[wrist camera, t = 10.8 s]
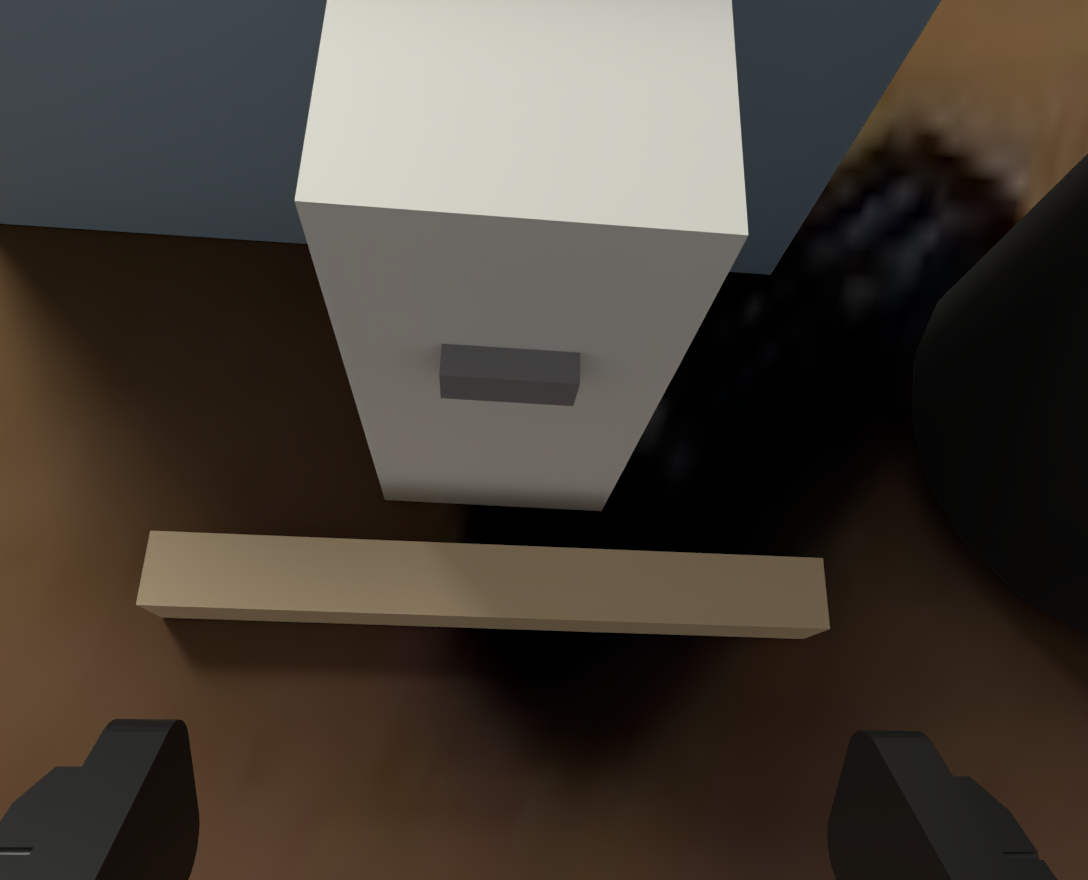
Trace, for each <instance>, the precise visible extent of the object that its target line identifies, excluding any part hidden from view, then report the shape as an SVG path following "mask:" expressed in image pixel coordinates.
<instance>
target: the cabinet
mask: <svg viewBox="0 0 1088 880" xmlns="http://www.w3.org/2000/svg"><path fill="white" fill-rule="evenodd" d="M295 204H296V208H297V211H298V214H299V218H300V221H301V224H302V227H303V231H304V234H305V237H306V241H307V244H308V247H309V251H310V254H311V257H312V261H313V264H314V267H315V271H316V274H317V277H318V280H319V284H320V287H321V290H322V294H323V297H324V300H325V304H326V307H327V310H328V314H329V317H330V320H331V323H332V327H333V330H334V333H335V337H336V340H337V343H338V347H339V350H340V353H341V357H342V360H343V363H344V367H345V370H346V373H347V376H348V380H349V383H350V386H351V390H352V393H353V396H354V400H355V403H356V406H357V410H358V413H359V416H360V419H361V423H362V426H363V429H364V433H365V436H366V439H367V443H368V446H369V449H370V453H371V456H372V459H373V462H374V466H375V469H376V472H377V476H378V479H379V482H380V486H381V489H382V492H383V496H384V499H385V500H395V501H414V502H434V503H453V504H473V505H492V506H512V507H531V508H550V509H570V510H589V511H602V509H603V507H604V505H605V504H606V502H607V500H608V498H609V496H610V494H611V492H612V490H613V489H614V487H615V485H616V483H617V481H618V479H619V477H620V475H621V473H622V472H623V470H624V468H625V466H626V464H627V462H628V460H629V458H630V457H631V455H632V453H633V451H634V449H635V447H636V445H637V443H638V442H639V440H640V438H641V436H642V434H643V432H644V430H645V428H646V427H647V425H648V423H649V421H650V419H651V417H652V415H653V413H654V412H655V410H656V408H657V406H658V404H659V402H660V400H661V398H662V397H663V395H664V393H665V391H666V389H667V387H668V385H669V383H670V382H671V380H672V378H673V376H674V374H675V372H676V370H677V368H678V367H679V365H680V363H681V361H682V359H683V357H684V355H685V353H686V352H687V350H688V348H689V346H690V344H691V342H692V340H693V338H694V337H695V335H696V333H697V331H698V329H699V327H700V325H701V323H702V321H703V320H704V318H705V316H706V314H707V312H708V310H709V308H710V306H711V305H712V303H713V301H714V299H715V297H716V295H717V293H718V291H719V290H720V288H721V286H722V284H723V282H724V280H725V278H726V276H727V275H728V273H729V271H730V269H731V267H732V265H733V263H734V261H735V260H736V258H737V256H738V254H739V252H740V250H741V248H742V246H743V245H744V243H745V241H746V239H747V237H748V222H747V208H746V194H745V180H744V166H743V152H742V138H741V124H740V110H739V96H738V82H737V68H736V54H735V40H734V26H733V12H732V0H327V4H326V10H325V16H324V22H323V28H322V34H321V41H320V47H319V53H318V59H317V65H316V71H315V77H314V84H313V90H312V96H311V102H310V108H309V114H308V121H307V127H306V133H305V139H304V145H303V151H302V158H301V164H300V170H299V176H298V182H297V188H296V195H295Z"/></svg>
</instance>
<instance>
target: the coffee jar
mask: <svg viewBox="0 0 1088 880" xmlns="http://www.w3.org/2000/svg"><path fill="white" fill-rule="evenodd" d="M911 422H912V426H913V429H914V435H915V439H916V442H917V446H918V449H919V453H920V456H921V460H922V463H923V467H924V470H925V473H926V477H927V480H928V484H929V487H930V491H931V492H932V494H933V496H934V497H935V499H936V500H937V502H938V504H939V505H940V507H941V508H942V510H943V512H944V513H945V515H946V516H947V518H948V520H949V521H950V523H951V524H952V526H953V528H954V529H955V531H956V532H957V534H958V536H959V537H960V539H961V540H962V542H963V544H964V545H965V546H966V547H967V548H968V549H969V550H970V551H971V552H972V553H973V554H974V555H975V556H977V557H978V558H979V559H980V560H981V561H982V562H983V563H984V564H985V565H986V566H987V567H988V568H989V569H990V570H991V571H992V572H994V573H995V574H996V575H997V576H998V577H999V578H1000V579H1001V580H1002V581H1003V582H1004V583H1005V584H1006V585H1007V586H1008V587H1009V588H1011V589H1012V590H1013V591H1014V592H1016V593H1017V594H1018V595H1020V596H1021V597H1022V598H1023V599H1024V600H1025V601H1027V602H1028V603H1030V604H1032V605H1034V606H1036V607H1038V608H1040V609H1041V610H1043V611H1045V612H1047V613H1049V614H1051V615H1052V616H1054V617H1056V618H1058V619H1060V620H1062V621H1063V622H1065V623H1067V624H1069V625H1071V626H1073V627H1074V628H1076V629H1078V630H1080V631H1082V632H1084V633H1085V634H1087V635H1088V154H1087V155H1086V156H1085V157H1084V158H1083V159H1082V160H1081V161H1080V162H1079V163H1078V164H1077V165H1076V166H1075V167H1074V168H1073V169H1072V170H1071V171H1070V172H1069V173H1068V174H1067V175H1066V176H1065V177H1064V178H1063V179H1062V180H1061V181H1060V182H1059V183H1058V184H1057V185H1056V186H1055V187H1054V188H1053V189H1052V190H1051V191H1050V192H1048V193H1047V194H1046V195H1045V196H1044V197H1043V198H1042V199H1041V200H1040V201H1039V202H1038V203H1037V204H1036V205H1035V206H1034V207H1033V208H1032V209H1031V210H1030V211H1029V212H1028V213H1027V214H1026V215H1025V216H1024V217H1023V218H1022V219H1021V220H1020V221H1019V222H1018V223H1017V224H1016V225H1015V226H1014V227H1013V228H1012V229H1011V230H1010V231H1009V232H1008V233H1007V234H1006V235H1005V236H1004V237H1003V238H1002V239H1001V240H1000V241H999V242H998V243H997V244H996V245H995V246H994V247H993V248H992V249H991V250H990V251H989V252H988V253H987V254H986V255H985V256H984V257H983V258H981V259H980V260H979V261H978V262H977V263H976V264H975V265H974V266H973V267H972V268H971V269H970V270H969V271H968V272H967V273H966V274H965V275H964V276H963V277H962V278H961V279H960V280H959V281H958V282H957V283H956V284H955V285H954V286H953V287H952V288H951V289H950V290H949V291H948V292H947V293H946V294H945V295H944V296H943V297H942V298H941V299H940V300H939V301H938V303H937V305H936V307H935V310H934V312H933V314H932V316H931V319H930V321H929V323H928V326H927V328H926V330H925V332H924V335H923V337H922V339H921V341H920V344H919V346H918V348H917V351H916V354H915V359H914V368H913V393H912V418H911Z"/></svg>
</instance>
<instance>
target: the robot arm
mask: <svg viewBox="0 0 1088 880" xmlns="http://www.w3.org/2000/svg"><path fill="white" fill-rule="evenodd" d="M198 837H199V810H198V803H197V795H196V788H195V780H194V773H193V766H192V758H191V751H190V744H189V736H188V731H187V727H186V725H185V723H184V722H183V721H182V720H158V719H115V720H113V721H111V722H110V723H109V724H108V725H107V726H106V727H105V729H104V730H103V732H102V734H101V735H100V737H99V739H98V740H97V742H96V744H95V745H94V747H93V749H92V750H91V752H90V754H89V755H88V757H87V759H86V760H85V762H84V764H83V765H82V767H55V768H54V769H53V770H51V771H50V772H49V773H48V774H47V775H45V776H44V777H43V778H42V779H41V780H40V781H38V782H37V783H36V784H35V785H34V786H32V787H31V788H30V789H29V790H28V791H26V792H25V793H24V794H23V795H22V796H21V797H19V798H18V799H17V800H16V801H15V802H13V803H12V805H11V806H10V808H9V809H8V811H7V812H6V814H5V815H4V817H3V818H2V820H1V821H0V880H188V879H189V877H190V874H191V871H192V867H193V864H194V860H195V856H196V850H197V845H198ZM828 849H829V856H830V861H831V865H832V869H833V872H834V875H835V878H836V880H1057V879H1056V878H1055V876H1054V875H1053V873H1052V872H1051V870H1050V869H1049V867H1048V866H1047V864H1046V863H1045V862H1044V860H1039V858H1038V851H1037V850H1036V849H1035V847H1034V846H1033V844H1032V843H1031V841H1030V840H1029V838H1028V837H1027V836H1026V834H1025V833H1024V831H1023V830H1022V828H1021V827H1020V825H1019V824H1018V823H1017V821H1016V820H1015V818H1014V817H1013V815H1012V814H1011V812H1010V811H1009V810H1008V809H1006V808H1005V807H1004V806H1003V805H1002V804H1001V803H999V802H998V801H997V800H996V799H995V798H994V797H992V796H991V795H990V794H989V793H988V792H987V791H985V790H984V789H983V788H982V787H981V786H980V785H978V784H977V783H976V782H975V781H974V780H973V779H971V778H970V777H956V776H953V775H952V773H951V772H950V770H949V769H948V767H947V766H946V764H945V762H944V761H943V759H942V758H941V756H940V755H939V753H938V752H937V750H936V749H935V747H934V745H933V744H932V742H931V741H930V740H929V738H928V737H927V736H926V735H925V734H923V733H921V732H919V731H871V730H860V731H857V732H855V733H854V734H853V736H852V738H851V740H850V743H849V746H848V750H847V753H846V757H845V761H844V765H843V768H842V772H841V776H840V780H839V783H838V787H837V791H836V795H835V798H834V802H833V806H832V810H831V813H830V817H829V822H828Z"/></svg>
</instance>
